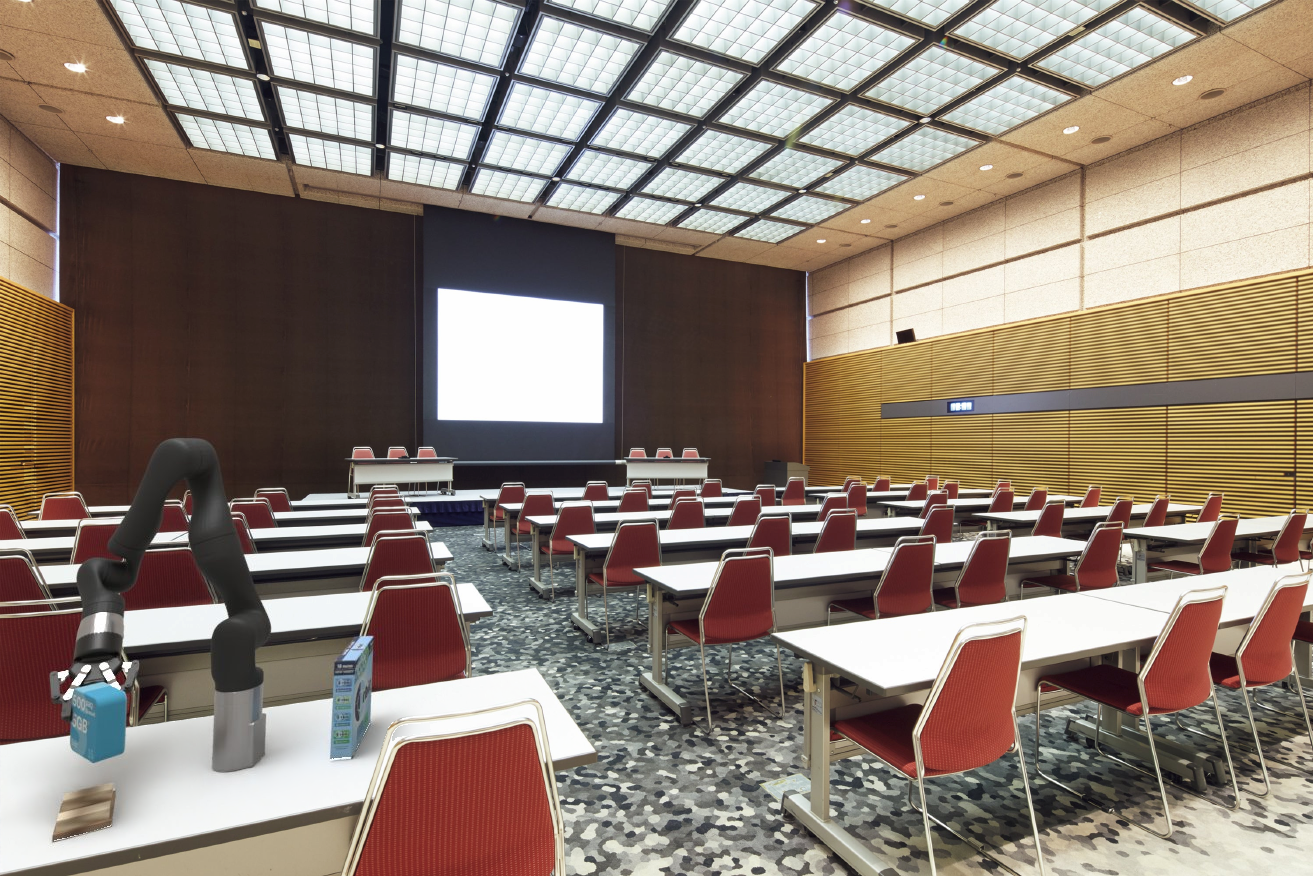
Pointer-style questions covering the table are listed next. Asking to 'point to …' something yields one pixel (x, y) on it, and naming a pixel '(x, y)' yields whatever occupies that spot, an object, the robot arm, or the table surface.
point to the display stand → (85, 811)
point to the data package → (98, 721)
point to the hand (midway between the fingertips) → (90, 716)
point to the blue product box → (351, 696)
